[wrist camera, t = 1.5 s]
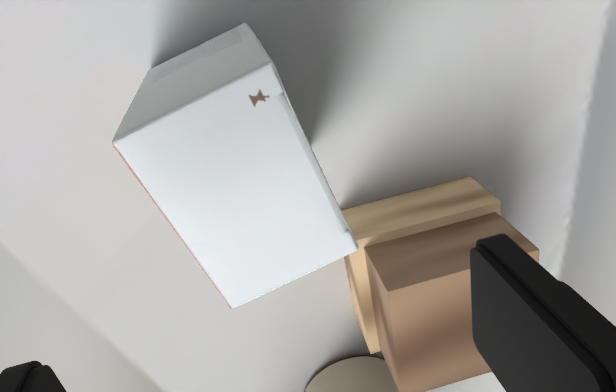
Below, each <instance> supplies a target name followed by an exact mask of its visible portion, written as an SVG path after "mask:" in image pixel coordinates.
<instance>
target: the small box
mask: <svg viewBox="0 0 616 392" xmlns="http://www.w3.org/2000/svg"><path fill="white" fill-rule="evenodd" d="M112 145H113V146H114V148H115V149H116V150H117V151H118V153H119V154H120V156H121V157H122V158H123V160H124V161H125V163H126V164H127V165H128V167H129V168H130V170H131V171H132V172H133V174H134V175H135V177H136V178H137V179H138V181H139V182H140V183H141V185H142V186H143V187H144V189H145V190H146V191H147V193H148V194H149V196H150V197H151V198H152V200H153V201H154V203H155V204H156V205H157V207H158V208H159V209H160V211H161V212H162V214H163V215H164V216H165V218H166V219H167V220H168V222H169V223H170V224H171V226H172V227H173V229H174V230H175V232H176V233H177V234H178V236H179V237H180V238H181V240H182V241H183V242H184V244H185V245H186V247H187V248H188V249H189V251H190V252H191V254H192V255H193V256H194V258H195V259H196V260H197V262H198V263H199V264H200V266H201V267H202V269H203V270H204V271H205V273H206V274H207V276H208V277H209V279H210V280H211V281H212V283H213V284H214V285H215V287H216V288H217V290H218V291H219V292H220V294H221V295H222V296H223V298H224V299H225V301H226V302H227V303H228V305H229V307H230V308H235V307H237V306H239V305H242V304H244V303H246V302H249V301H251V300H253V299H255V298H257V297H259V296H262V295H264V294H266V293H268V292H270V291H272V290H274V289H276V288H278V287H281V286H283V285H285V284H287V283H289V282H291V281H293V280H296V279H298V278H300V277H302V276H304V275H306V274H308V273H310V272H312V271H315V270H317V269H319V268H321V267H323V266H325V265H327V264H329V263H332V262H334V261H336V260H338V259H340V258H342V257H345V256H347V255H349V254H351V253H353V252H355V251H357V250H358V248H359V246H358V243H357V241H356V239H355V237H354V235H353V233H352V231H351V229H350V227H349V225H348V223H347V221H346V219H345V217H344V215H343V213H342V211H341V209H340V207H339V205H338V203H337V201H336V199H335V197H334V195H333V193H332V191H331V188H330V186H329V184H328V182H327V180H326V178H325V176H324V174H323V171H322V169H321V167H320V165H319V163H318V161H317V159H316V156H315V154H314V152H313V150H312V148H311V146H310V144H309V141H308V139H307V137H306V135H305V133H304V131H303V128H302V126H301V124H300V122H299V120H298V118H297V116H296V113H295V111H294V109H293V107H292V105H291V103H290V100H289V98H288V95H287V93H286V91H285V88H284V86H283V83H282V81H281V79H280V76H279V74H278V71H277V68H276V66H275V64H274V62H273V61H272V60H271V58H270V57H269V55H268V54H267V52H266V51H265V49H264V48H263V46H262V44H261V42H260V41H259V40H258V38H257V37H256V35H255V34H254V32H253V31H252V29H251V28H250V27H249V25H248V24H247V23H246V22H245V23H242V24H240V25H239V26H237V27H235V28H233V29H231V30H229V31H227V32H224V33H222V34H220V35H218V36H216V37H214V38H212V39H210V40H208V41H206V42H204V43H202V44H200V45H198V46H196V47H194V48H192V49H190V50H188V51H186V52H184V53H182V54H180V55H178V56H176V57H174V58H172V59H170V60H168V61H165V62H163V63H161V64H159V65H157V66H155V67H153V68H151V69H150V70H149V71H148V73H147V75H146V76H145V78H144V80H143V82H142V84H141V86H140V88H139V90H138V92H137V94H136V95H135V97H134V99H133V101H132V103H131V105H130V107H129V109H128V111H127V113H126V114H125V116H124V118H123V120H122V122H121V124H120V126H119V128H118V130H117V132H116V134H115V136H114V138H113V140H112Z"/></svg>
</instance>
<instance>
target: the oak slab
mask: <svg viewBox="0 0 616 392" xmlns="http://www.w3.org/2000/svg"><path fill="white" fill-rule="evenodd" d="M341 211H342V213H343V215H344V217H345V219H346V221H347V223H348V225H349V227H350V229H351V231H352V233H353V235H354V237H355V239H356V241H357V243H358V246H359V248H358V250H357V251H355V252H353V253H351V254H349V255H347V256H345V257H344V258H345V263H346V269H347V274H348V279H349V285H350V290H351V295H352V301H353V306H354V311H355V317H356V319H357V322H358V324H359V327H360V329H361V332H362V334H363V336H364V339H365V341H366V344H367V346H368V349H369V351H370V354H372V353H376V352H379V351H381V349H380V347H379V341H378V335H377V328H376V322H375V316H374V309H373V303H372V297H371V290H370V284H369V277H368V271H367V265H366V258H365V252H364V247H367V246H371V245H375V244H378V243H382V242H386V241H390V240H393V239H397V238H401V237H404V236H408V235H412V234H416V233H419V232H423V231H427V230H430V229H434V228H438V227H442V226H445V225H449V224H453V223H456V222H460V221H464V220H468V219H471V218H475V217H479V216H483V215H486V214H490V213H494V212H496V213H498V214H499V215H500V216H501V201H500V200H499V199H498V198H497V197H495V196H494V195H493V194H492V193H490V192H489V191H488V190H487V189H485V188H484V187H483V186H482V185H480V184H479V183H478V182H477V181H476V180H474V179H473V178H472V177H471V176H469V177H465V178H461V179H458V180H454V181H450V182H446V183H442V184H439V185H435V186H431V187H427V188H424V189H420V190H416V191H412V192H409V193H405V194H401V195H397V196H394V197H390V198H386V199H382V200H378V201H375V202H371V203H367V204H363V205H360V206H356V207H352V208H348V209H345V210H341Z"/></svg>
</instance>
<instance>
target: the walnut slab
mask: <svg viewBox="0 0 616 392" xmlns="http://www.w3.org/2000/svg"><path fill="white" fill-rule="evenodd" d="M500 233H504V234H506V235H507V236H509V237H510V238H511V239H512V240H513V241H514V242H515V243H516V244H517V245H519V246H520V247H521V248H522V249H523V250H524V251H525V252H526V253H528V254H529V255H530V256H531V257H532V258H533V259H534V260H535V261H536V262H538V261H539V249H538V248H537V247H536V246H535V245H533V244H532V243H531V242H530V241H529V240H528V239H526V238H525V237H524V236H523V235H522V234H521V233H520V232H518V231H517V230H516V229H515V228H514V227H513V226H511V225H510V224H509V223H508V222H507V221H506V220H504V219H503V218H502V217H501V216H500V215H499V214H498V213H496V212H494V213H490V214H486V215H483V216H479V217H475V218H471V219H468V220H464V221H460V222H456V223H453V224H449V225H445V226H442V227H438V228H434V229H430V230H427V231H423V232H419V233H416V234H412V235H408V236H404V237H401V238H397V239H393V240H390V241H386V242H382V243H378V244H375V245H371V246H367V247H364V252H365V258H366V265H367V271H368V277H369V284H370V290H371V297H372V303H373V309H374V316H375V322H376V328H377V335H378V341H379V347H380V349H381V352H382V354H383V356H384V359H385V361H386V363H387V365H388V368H389V370H390V372H391V375H392V377H393V379H394V381H395V384H396V386H397V388H398V391H399V392H424V391H428V390H431V389H434V388H438V387H441V386H445V385H448V384H451V383H455V382H458V381H461V380H465V379H468V378H471V377H475V376H478V375H481V374H485V373H488V372H492V370H491V369H490V367H489V366H488V365H487V363H486V362H485V360H484V359H483V357H482V356H481V354H480V353H479V351H478V350H477V348H476V346H475V343H474V340H473V334H472V306H471V276H470V250H471V248H474V247H476V242H477V240H479V239H482V238H486V237H489V236H493V235H497V234H500Z"/></svg>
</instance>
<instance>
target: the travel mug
mask: <svg viewBox="0 0 616 392" xmlns="http://www.w3.org/2000/svg"><path fill="white" fill-rule="evenodd" d="M305 392H399V391H398V388H397V386H396V384H395V381H394V379H393V377H392V375H391V372H390V370H389V368H388V365H387V363H386V361H385V360H382V359H380V358H376V357H368V356H361V357H353V358H348V359H344V360H341V361H339V362H336V363H334V364H332V365H330V366H328V367H327V368H325V369H324V370H322V371H321V372H320V373H318V374H317V375H316V376H315V377H314V378H313V379H312V381H311V382H310V383H309V385H308V386H307V388H306V390H305Z"/></svg>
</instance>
